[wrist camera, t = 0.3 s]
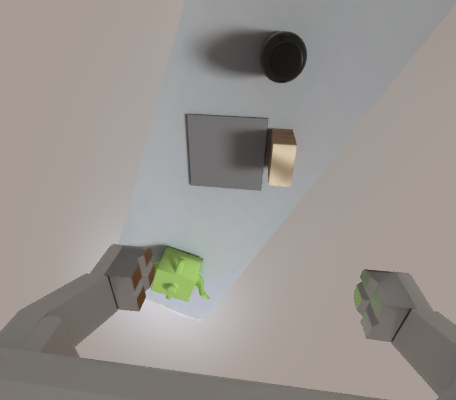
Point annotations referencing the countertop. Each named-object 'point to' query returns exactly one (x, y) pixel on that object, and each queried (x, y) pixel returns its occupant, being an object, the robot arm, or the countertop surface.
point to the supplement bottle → (283, 56)
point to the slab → (281, 157)
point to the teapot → (178, 275)
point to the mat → (226, 151)
